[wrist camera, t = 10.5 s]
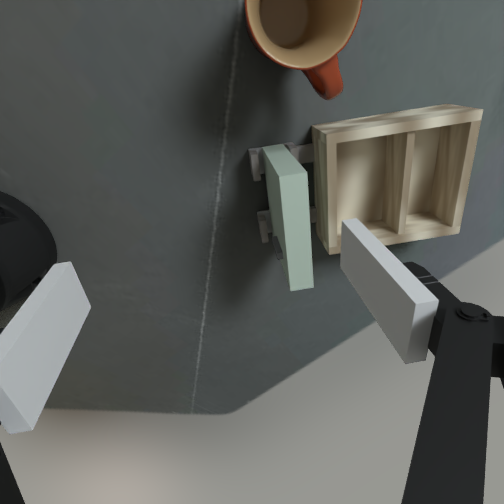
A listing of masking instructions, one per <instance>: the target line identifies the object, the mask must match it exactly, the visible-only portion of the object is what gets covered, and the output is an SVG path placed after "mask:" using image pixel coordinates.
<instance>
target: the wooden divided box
mask: <svg viewBox="0 0 504 504" xmlns="http://www.w3.org/2000/svg"><path fill="white" fill-rule="evenodd" d="M482 113H483V109H477V108H471V107H464V106H458V105H451V104H443V105H436V106H430V107H424V108H418V109H411V110H405V111H399V112H393V113H386V114H380V115H374V116H367V117H361V118H355V119H349V120H342V121H336V122H330V123H323V124H317V125H311V127H312V143H310V144H304V145H297V146H295V145H294V144H293V143H292V142H289V143H283V145H284V146H285V147H286V148H287V150H288V151H289V152H290V153H291V154H292V155H293V156H294V158H295V159H296V160H297V161H298V162H299V163H300V164H303V163H309V162H313V173H314V196H315V206H311V207H309V213H310V223H316V234H317V235H318V237H319V239H320V240H321V242H322V244H323V245H324V247H325V249H326V250H327V252H328V254H329V255H331V254H337V253H341V226H342V220H347V219H354V218H357V219H358V220H359V221H360V222H361V223H362V224H363V225H364V226H365V227H366V228H367V229H368V230H369V231H370V232H371V233H372V234H373V235H374V236H375V237H376V238H377V239H378V240H379V241H380V242H381V243H382V244H383V245H384V246H386V245H392V244H398V243H404V242H410V241H416V240H422V239H428V238H434V237H440V236H446V235H452V234H458V233H459V231H460V226H461V220H462V215H463V210H464V205H465V200H466V195H467V190H468V185H469V180H470V174H471V169H472V164H473V159H474V154H475V149H476V144H477V139H478V134H479V128H480V123H481V118H482ZM276 145H278V144H276ZM270 146H272V145H270ZM264 147H266V146H264ZM248 151H249V158H250V165H251V173H252V176H253V179H254V182H255V181H261V175H260V174H264V173H265V168H264V159H263V151H262V147H258V148H251V149H248ZM257 216H258V223H259V231H260V235H261V239H262V243H266V242H269V239H268V233H272V226H271V218H270V210H265V211H259V212H257Z"/></svg>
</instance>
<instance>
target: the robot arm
mask: <svg viewBox="0 0 504 504" xmlns="http://www.w3.org/2000/svg"><path fill="white" fill-rule="evenodd" d="M56 262H57V250H56V245H55V241H54V238H53V236H52V234H51V232H50V230H49V229H48V227H47V226H46V224H45V223H44V222H43V220H42V219H41V218H40V217H39V216H38V215H37V214H36V213H35V212H34V211H33V210H32V209H30V208H29V207H28V206H26V205H25V204H24V203H22V202H21V201H19V200H17V199H16V198H14V197H12V196H10V195H8V194H5V193H3V192H0V311H2V310H4V309H6V308H8V307H10V306H12V305H14V304H16V303H18V302H19V301H21V300H23V299H25V298H27V297H29V298H28V299H27V300H26V302H25V303H24V304H23V305H22V307H21V308H20V309H19V311H18V312H17V313H16V315H15V316H14V317H13V319H12V320H11V321H10V322H9V324H8V325H7V326H6V328H1V329H0V425H1V424H2V426H3V427H4V428H5V429H6V430H7V432H8V433H9V434H14V433H19V432H25V431H31V430H33V428H34V426H35V424H36V422H37V420H38V418H39V416H40V414H41V412H42V409H43V407H44V405H45V403H46V401H47V399H48V397H49V395H50V393H51V391H52V388H53V386H54V384H55V382H56V380H57V378H58V376H59V374H60V372H61V369H62V367H63V365H64V363H65V361H66V359H67V357H68V355H69V353H70V351H71V348H72V346H73V344H74V342H75V340H76V338H77V336H78V334H79V332H80V329H81V327H82V325H83V323H84V321H85V319H86V317H87V315H88V313H89V311H90V308H91V306H90V303H89V301H88V299H87V297H86V294H85V292H84V290H83V288H82V285H81V283H80V281H79V279H78V277H77V274H76V272H75V270H74V268H73V265H72V263H71V262H64V263H58V264H56ZM340 268H341V269H342V271H343V272H344V274H345V275H346V277H347V278H348V280H349V281H350V283H351V284H352V286H353V287H354V289H355V290H356V291H357V293H358V294H359V296H360V297H361V299H362V300H363V302H364V303H365V305H366V306H367V308H368V309H369V311H370V312H371V314H372V315H373V317H374V318H375V320H376V321H377V323H378V324H379V326H380V327H381V328H382V330H383V332H384V333H385V335H386V336H387V338H388V339H389V341H390V342H391V344H392V345H393V346H394V348H395V349H396V351H397V352H398V354H399V355H400V357H401V358H402V360H403V361H404V363H405V364H408V363H413V362H419V361H425V360H426V356H427V352H428V348H429V350H430V351H431V352H432V353H433V355H434V356H435V361H434V365H433V369H432V373H431V378H430V382H429V386H428V391H427V395H426V400H425V404H424V408H423V412H422V417H421V421H420V425H419V430H418V434H417V438H416V443H415V447H414V451H413V455H412V460H411V464H410V468H409V473H408V477H407V481H406V486H405V490H404V495H403V499H402V503H401V504H483V497H484V480H485V463H486V447H487V430H488V413H489V397H490V380H491V377H499V378H500V379H501V382H502V385H503V388H504V317H503V316H492V315H491V314H490V313H489V312H488V311H487V310H486V309H484V308H482V307H481V306H478V305H475V304H472V303H466V302H461V301H460V300H458V299H457V298H456V297H455V296H454V295H453V294H452V293H451V292H450V291H449V290H448V289H447V288H445V287H444V286H443V285H442V284H441V283H440V282H438V280H437V279H436V278H435V277H433V276H432V275H431V274H430V273H429V272H428V271H427V270H426V269H425V268H424V267H422V266H420V265H418V264H416V263H414V262H406V263H401V262H400V261H399V260H398V259H397V258H396V257H395V256H394V255H393V254H392V253H391V252H390V251H389V250H388V249H387V248H386V247H385V246H384V245H383V244H382V243H381V242H380V241H379V240H378V239H377V238H376V237H375V236H374V235H373V234H372V233H371V232H370V231H369V230H368V229H367V228H366V227H365V226H364V225H363V224H362V223H361V222H360V221H359V220H358V219H357V218H354V219H347V220H342V226H341V259H340ZM0 504H25V502H24V500H23V497H22V495H21V493H20V490H19V488H18V485H17V483H16V480H15V478H14V475H13V473H12V470H11V468H10V465H9V463H8V460H7V458H6V455H5V453H4V451H3V448H2V446H1V443H0Z"/></svg>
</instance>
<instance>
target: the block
mask: <svg viewBox="0 0 504 504" xmlns="http://www.w3.org/2000/svg"><path fill="white" fill-rule="evenodd" d="M262 151H263V159H264V168H265V176H266V184H267V193H268V201H269V210H270V218H271V226H272V235H273V236H272V243H273V246H274V249H275V252H276V256H277V259H278V260H280V261H281V264H282V267H283V270H284V273H285V276H286V279H287V282H288V285H289V288H290V291H295V290H301V289H306V288H312V287H314V285H313V267H312V249H311V231H310V213H309V195H308V177H307V171H306V170H305V169H304V168H303V167H302V166H301V164H300V163H299V162H298V161H297V160H296V159H295V158H294V156H293V155H292V154H291V153H290V152H289V151H288V150H287V148H286V147H285V146H284V145H283V144H278V145H272V146H266V147H262Z"/></svg>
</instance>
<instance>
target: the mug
mask: <svg viewBox="0 0 504 504" xmlns="http://www.w3.org/2000/svg"><path fill="white" fill-rule="evenodd" d="M361 7H362V0H245V22H246V28H247V32H248V35H249V37H250V39H251V41H252V43H253V45H254V46H255V47H256V49H257V50H258V51H259V52H260V53H261V54H262V55H264V56H265V57H267V58H269V59H271V60H272V61H274V62H275V63H277V64H279V65H281V66H284V67H286V68H290V69H296V70H301V71H302V72H303V73H304V74H305V76H306V77H307V78H308V80H309V82H310V83H311V85H312V87H313V88H314V90H315V91H316V92H317V93H318V95H319V96H320V97H322V98H323V99H325V100H332V99H334V98H335V97H337V96H338V95H340V94H341V93H342V91H343V81H342V77H341V74H340V71H339V66H338V57H337V54H338V53H339V52H340V51H341V50H342V49H343V48H344V47H345V46H346V44H347V43H348V41H349V39H350V37H351V36H352V34H353V31H354V29H355V27H356V24H357V22H358V19H359V16H360V12H361Z"/></svg>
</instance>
